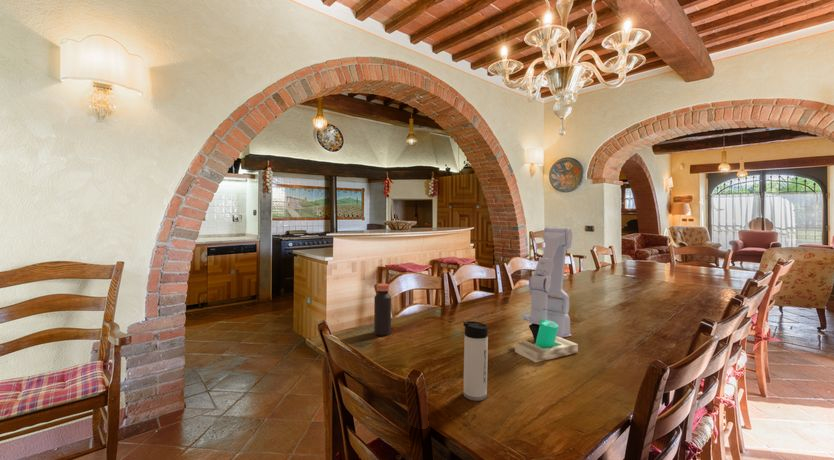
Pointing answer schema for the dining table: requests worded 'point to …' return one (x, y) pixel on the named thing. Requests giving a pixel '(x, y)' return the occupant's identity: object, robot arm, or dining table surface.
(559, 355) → the cream flat frame
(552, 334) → the green prism block
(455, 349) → the dining table surface
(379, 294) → the bottle
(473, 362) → the travel mug
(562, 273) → the robot arm
